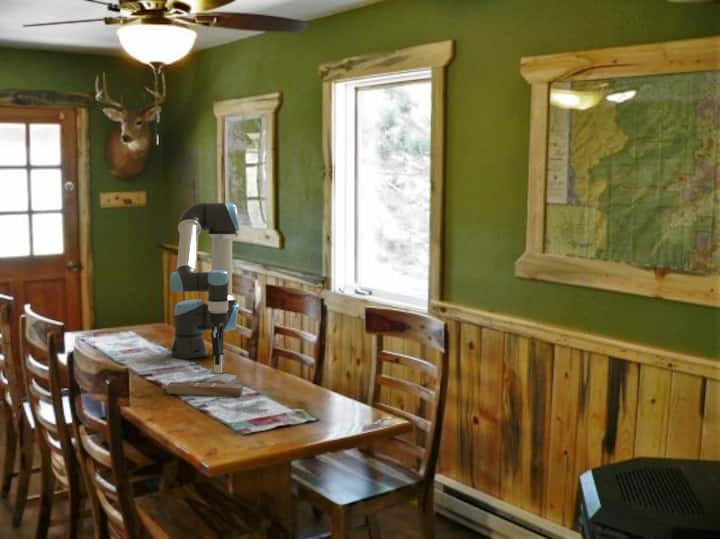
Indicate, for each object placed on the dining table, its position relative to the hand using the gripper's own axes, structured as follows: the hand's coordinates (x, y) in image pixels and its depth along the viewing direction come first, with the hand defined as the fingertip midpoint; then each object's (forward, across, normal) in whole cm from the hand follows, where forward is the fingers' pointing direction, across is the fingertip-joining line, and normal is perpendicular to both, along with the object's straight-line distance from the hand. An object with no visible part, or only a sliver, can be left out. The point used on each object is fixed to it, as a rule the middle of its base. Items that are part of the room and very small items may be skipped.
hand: (218, 371), depth 299 cm
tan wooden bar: (+2, +21, 0) cm, 21 cm away
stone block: (+3, +12, +3) cm, 12 cm away
